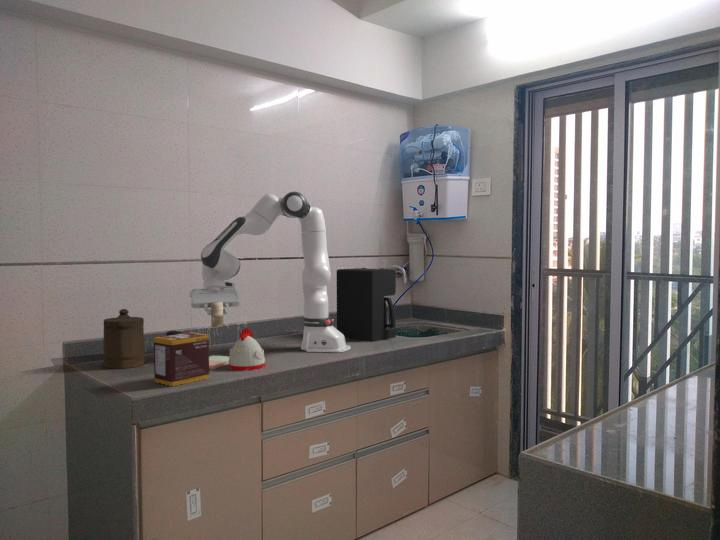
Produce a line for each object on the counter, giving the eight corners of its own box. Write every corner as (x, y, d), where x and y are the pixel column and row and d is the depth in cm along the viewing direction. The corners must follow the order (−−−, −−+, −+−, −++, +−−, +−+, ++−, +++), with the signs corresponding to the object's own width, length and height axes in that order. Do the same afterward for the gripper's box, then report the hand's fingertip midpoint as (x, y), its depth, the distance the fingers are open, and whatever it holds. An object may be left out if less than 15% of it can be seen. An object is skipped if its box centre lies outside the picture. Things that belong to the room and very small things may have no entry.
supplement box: (210, 378, 199) (209, 334, 198) (171, 387, 186) (170, 340, 186) (192, 374, 205) (191, 331, 204) (153, 382, 193) (153, 337, 192)
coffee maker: (403, 337, 286) (403, 268, 285) (378, 342, 272) (378, 270, 270) (361, 332, 305) (361, 267, 303) (336, 336, 290) (336, 268, 289)
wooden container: (139, 359, 232) (138, 306, 232) (148, 365, 220) (147, 309, 219) (100, 363, 224) (99, 308, 223) (107, 370, 212) (106, 312, 211)
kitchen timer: (221, 369, 214) (220, 329, 213) (241, 362, 227) (240, 325, 226) (253, 371, 209) (252, 331, 209) (271, 364, 222) (271, 326, 221)
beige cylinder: (225, 325, 239) (225, 302, 239) (219, 327, 235) (218, 303, 234) (215, 325, 241) (215, 301, 241) (208, 326, 236) (208, 303, 236)
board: (238, 360, 231) (238, 357, 231) (213, 369, 214) (213, 365, 214) (213, 358, 235) (213, 355, 235) (186, 367, 218) (186, 363, 218)
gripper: (189, 284, 240) (191, 310, 231) (238, 283, 247) (242, 307, 238) (189, 294, 244) (191, 319, 236) (236, 292, 251) (240, 317, 243)
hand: (217, 313), depth 237 cm, fingers closed on beige cylinder, 5 cm apart
